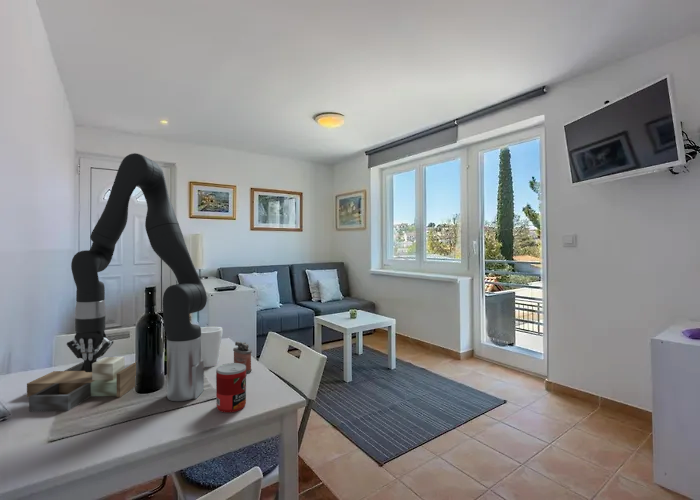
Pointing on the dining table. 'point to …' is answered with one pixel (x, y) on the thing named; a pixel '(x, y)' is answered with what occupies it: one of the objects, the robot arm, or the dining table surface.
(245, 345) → the lighter
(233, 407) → the canned food
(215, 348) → the foam cup
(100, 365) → the block
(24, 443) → the dining table surface
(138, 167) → the robot arm
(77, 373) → the box
